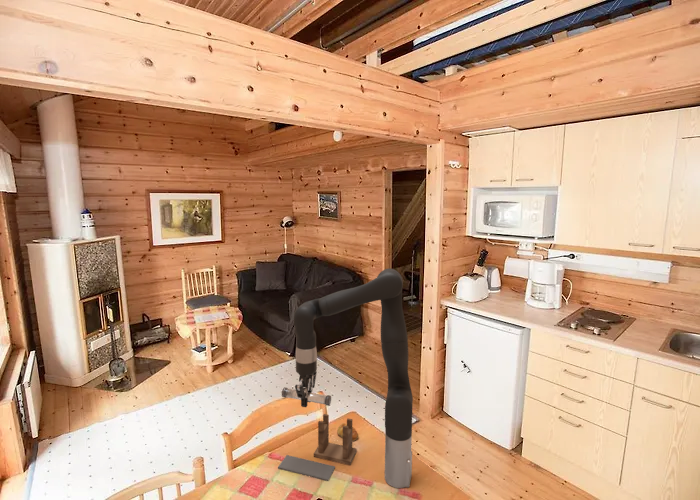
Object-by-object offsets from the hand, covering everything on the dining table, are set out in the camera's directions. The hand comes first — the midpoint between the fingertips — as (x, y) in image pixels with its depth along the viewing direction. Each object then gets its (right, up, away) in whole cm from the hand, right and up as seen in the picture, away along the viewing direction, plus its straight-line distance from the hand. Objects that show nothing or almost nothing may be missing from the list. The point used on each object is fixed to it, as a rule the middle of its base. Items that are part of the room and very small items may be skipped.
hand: (306, 403), depth 129 cm
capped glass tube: (0, +3, 0) cm, 3 cm away
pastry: (+15, -23, +23) cm, 36 cm away
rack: (+10, -24, +10) cm, 28 cm away
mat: (0, -25, +2) cm, 25 cm away
